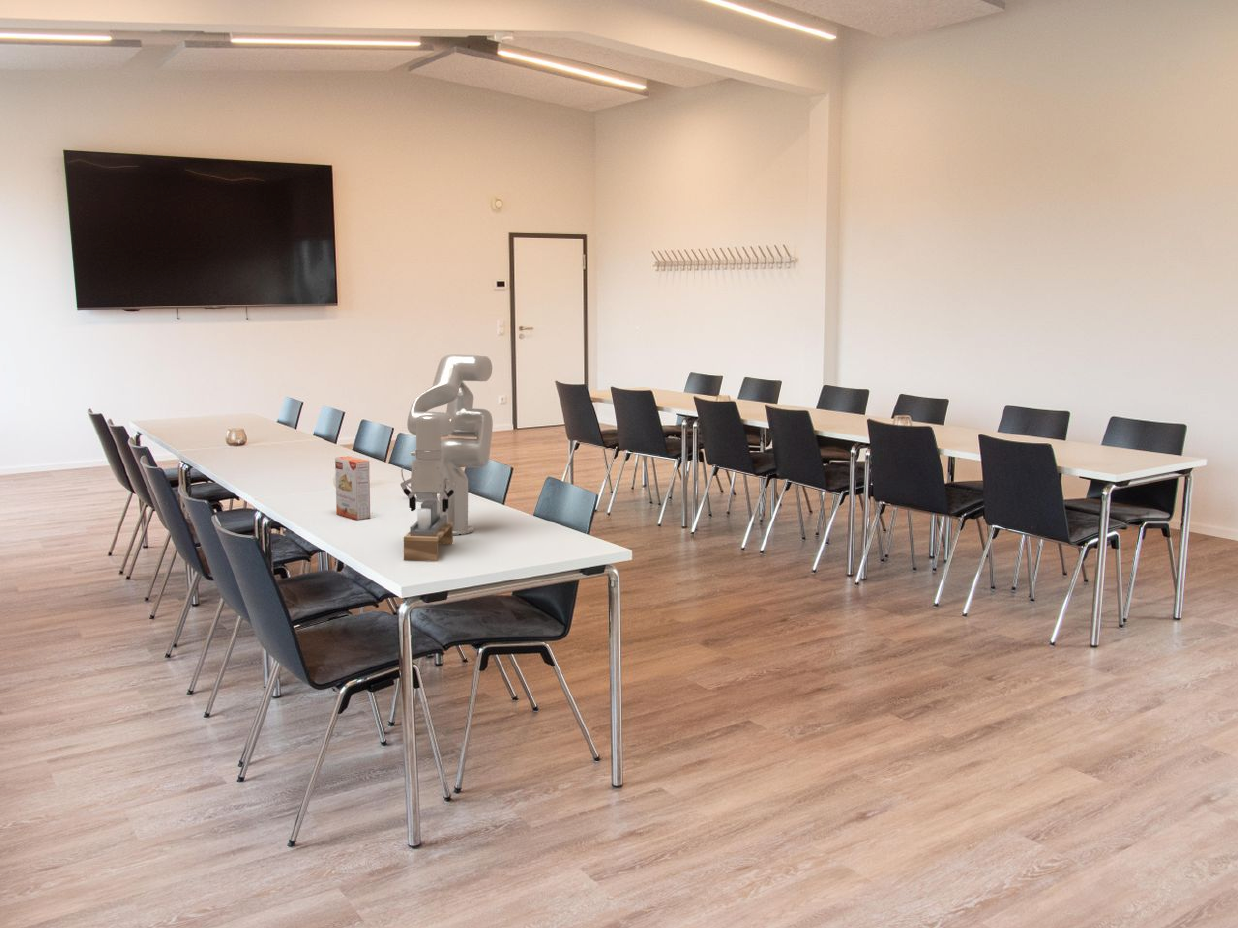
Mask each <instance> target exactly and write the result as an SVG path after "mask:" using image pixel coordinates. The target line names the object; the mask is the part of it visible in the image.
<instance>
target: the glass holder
mask: <svg viewBox="0 0 1238 928" xmlns="http://www.w3.org/2000/svg"><path fill="white" fill-rule="evenodd" d="M405 467H409V468H410V469H411V470H412V465H409V464H405V465H403V466H402V468H401V471H400V472H401V477H402V480H403V482H404V481H406V480H405V478H404V477H405V476H404V474H403V473H404V471H403V470H404V468H405ZM407 488H408V489H409V490H411V485H409V484H408V485H407ZM415 498H416V503H417V502H418V503H423V502H424V501H425V500H439V499H438V493H416V494H415Z"/></svg>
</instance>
